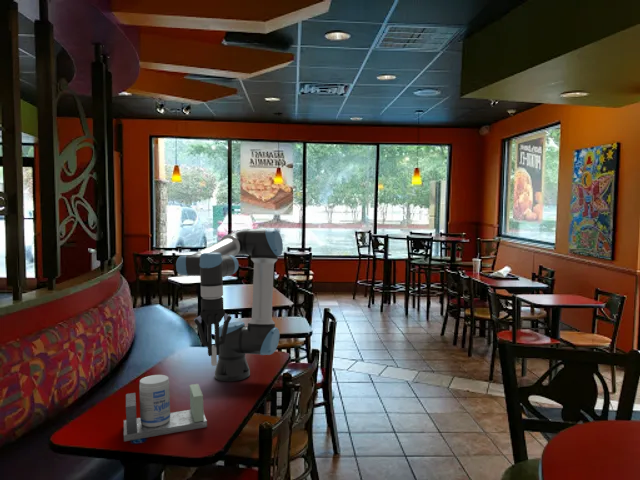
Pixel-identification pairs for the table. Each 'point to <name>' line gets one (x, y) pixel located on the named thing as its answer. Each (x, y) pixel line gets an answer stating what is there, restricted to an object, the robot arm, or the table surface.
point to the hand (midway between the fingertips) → (214, 364)
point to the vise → (138, 431)
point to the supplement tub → (154, 400)
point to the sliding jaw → (196, 403)
